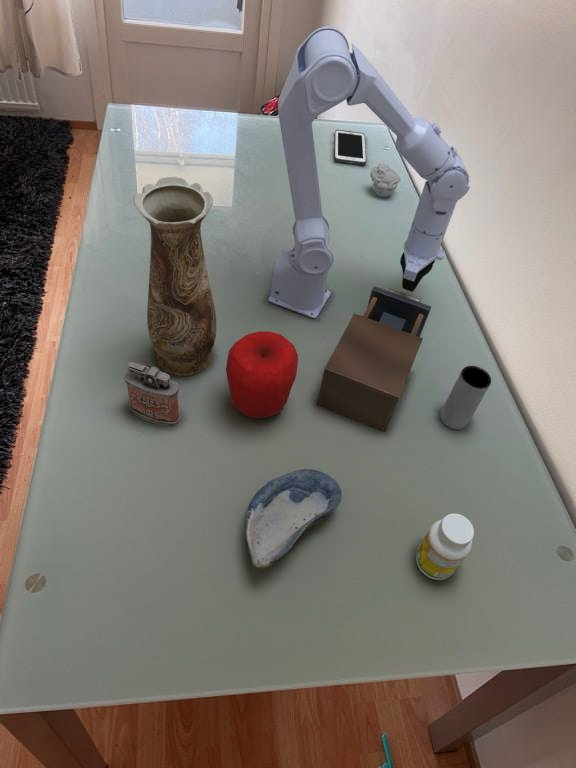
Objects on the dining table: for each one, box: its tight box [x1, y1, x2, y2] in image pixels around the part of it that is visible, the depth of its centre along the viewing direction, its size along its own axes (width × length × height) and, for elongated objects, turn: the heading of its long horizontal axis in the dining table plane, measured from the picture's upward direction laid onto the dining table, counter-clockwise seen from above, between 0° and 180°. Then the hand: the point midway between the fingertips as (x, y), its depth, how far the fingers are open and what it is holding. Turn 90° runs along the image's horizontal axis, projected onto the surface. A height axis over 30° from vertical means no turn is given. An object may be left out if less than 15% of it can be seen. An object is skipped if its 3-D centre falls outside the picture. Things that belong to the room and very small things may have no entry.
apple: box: [225, 331, 299, 419], centre depth 87 cm, size 10×10×14 cm
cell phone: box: [333, 129, 367, 166], centre depth 146 cm, size 8×15×1 cm, turn 177°
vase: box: [133, 176, 217, 377], centre depth 85 cm, size 10×11×30 cm
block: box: [379, 312, 406, 330], centre depth 100 cm, size 4×4×4 cm
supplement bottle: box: [415, 513, 475, 581], centre depth 74 cm, size 5×5×10 cm
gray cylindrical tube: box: [439, 365, 492, 430], centre depth 90 cm, size 4×4×10 cm
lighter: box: [124, 361, 181, 427], centre depth 85 cm, size 8×3×10 cm, turn 71°
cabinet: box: [316, 312, 423, 433], centre depth 93 cm, size 14×12×9 cm
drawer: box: [362, 285, 432, 337], centre depth 100 cm, size 17×10×7 cm, turn 157°
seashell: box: [245, 468, 343, 569], centre depth 77 cm, size 15×12×5 cm
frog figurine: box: [369, 162, 402, 198], centre depth 132 cm, size 6×7×7 cm
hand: (408, 288), depth 108 cm, fingers closed
